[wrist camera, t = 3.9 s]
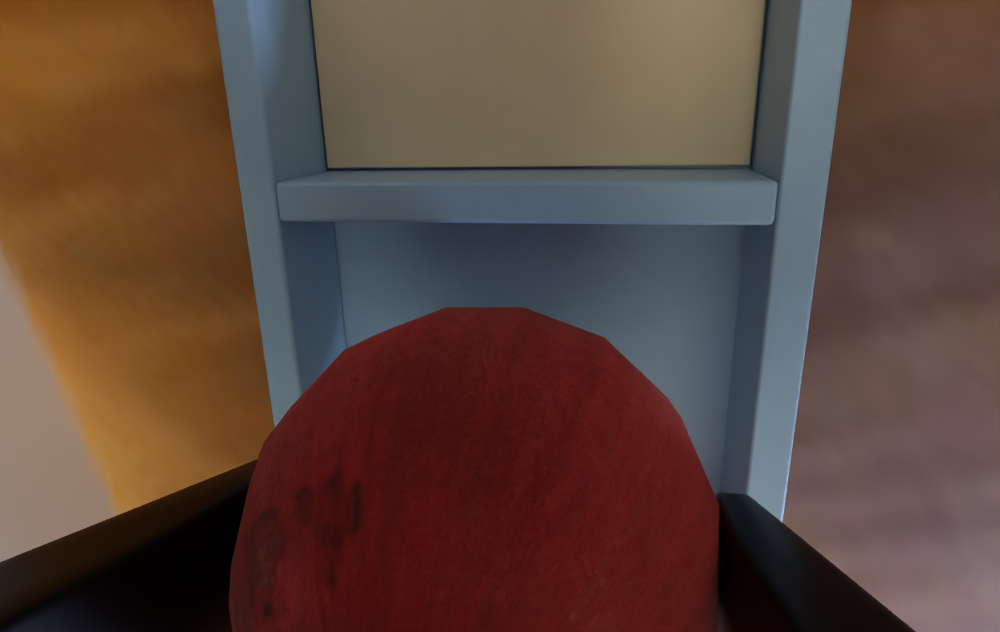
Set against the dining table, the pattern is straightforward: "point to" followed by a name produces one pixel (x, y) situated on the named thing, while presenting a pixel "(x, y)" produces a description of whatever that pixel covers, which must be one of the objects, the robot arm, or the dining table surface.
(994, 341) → the dining table surface
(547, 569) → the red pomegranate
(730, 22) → the divided blue tray
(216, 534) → the robot arm
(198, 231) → the dining table surface
